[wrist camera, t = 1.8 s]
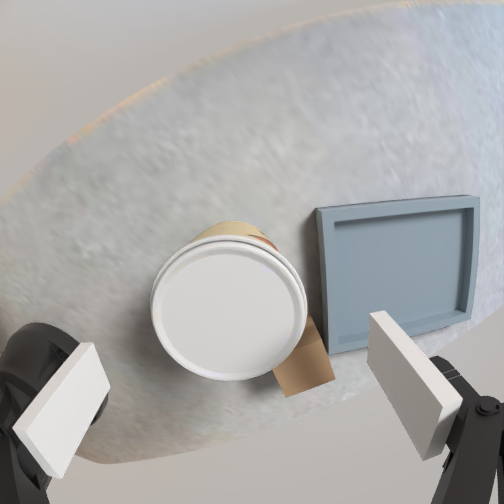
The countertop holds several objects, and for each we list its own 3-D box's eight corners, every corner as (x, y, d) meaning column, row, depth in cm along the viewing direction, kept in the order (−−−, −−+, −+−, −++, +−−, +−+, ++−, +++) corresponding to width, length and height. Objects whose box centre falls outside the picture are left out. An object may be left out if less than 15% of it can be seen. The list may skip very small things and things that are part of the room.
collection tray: (323, 342, 31) (328, 354, 29) (315, 208, 28) (321, 211, 25) (459, 310, 31) (470, 318, 29) (466, 194, 28) (479, 197, 25)
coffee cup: (292, 296, 30) (320, 367, 18) (199, 316, 30) (177, 394, 18) (271, 200, 27) (293, 220, 16) (171, 225, 28) (124, 261, 16)
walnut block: (280, 368, 32) (285, 397, 27) (263, 332, 31) (267, 359, 26) (323, 351, 32) (335, 379, 27) (310, 314, 30) (321, 338, 26)
